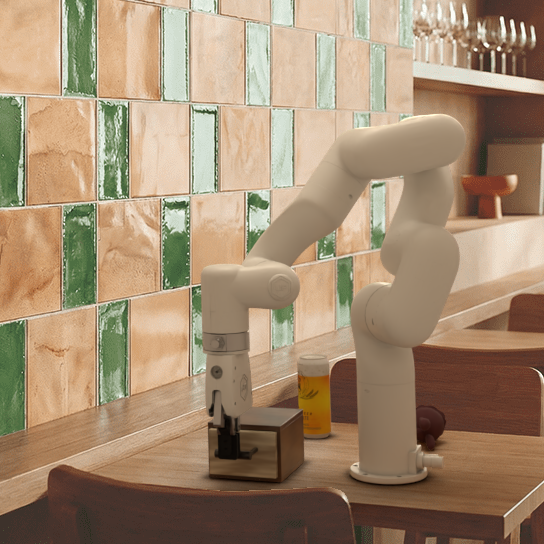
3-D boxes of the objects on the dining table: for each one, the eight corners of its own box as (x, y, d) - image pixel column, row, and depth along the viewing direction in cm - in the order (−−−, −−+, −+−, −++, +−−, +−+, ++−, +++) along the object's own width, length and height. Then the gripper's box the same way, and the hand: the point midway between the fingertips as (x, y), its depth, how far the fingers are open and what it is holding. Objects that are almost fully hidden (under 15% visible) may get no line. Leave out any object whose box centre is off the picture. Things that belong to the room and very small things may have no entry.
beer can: (294, 433, 222) (292, 355, 223) (323, 430, 224) (321, 352, 225) (306, 440, 217) (304, 359, 217) (336, 437, 218) (334, 357, 219)
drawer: (266, 486, 183) (265, 440, 183) (199, 481, 187) (197, 436, 187) (297, 459, 199) (296, 416, 199) (234, 455, 203) (233, 413, 203)
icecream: (400, 398, 221) (401, 423, 206) (438, 389, 220) (441, 413, 205) (411, 433, 221) (412, 460, 207) (449, 424, 220) (452, 450, 205)
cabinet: (281, 482, 189) (280, 426, 189) (209, 477, 193) (207, 422, 193) (304, 461, 201) (303, 409, 201) (235, 457, 206) (234, 405, 206)
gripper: (233, 350, 176) (236, 472, 176) (262, 336, 190) (266, 448, 190) (187, 349, 179) (190, 469, 178) (219, 334, 193) (222, 445, 192)
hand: (229, 458), depth 184 cm, fingers closed
